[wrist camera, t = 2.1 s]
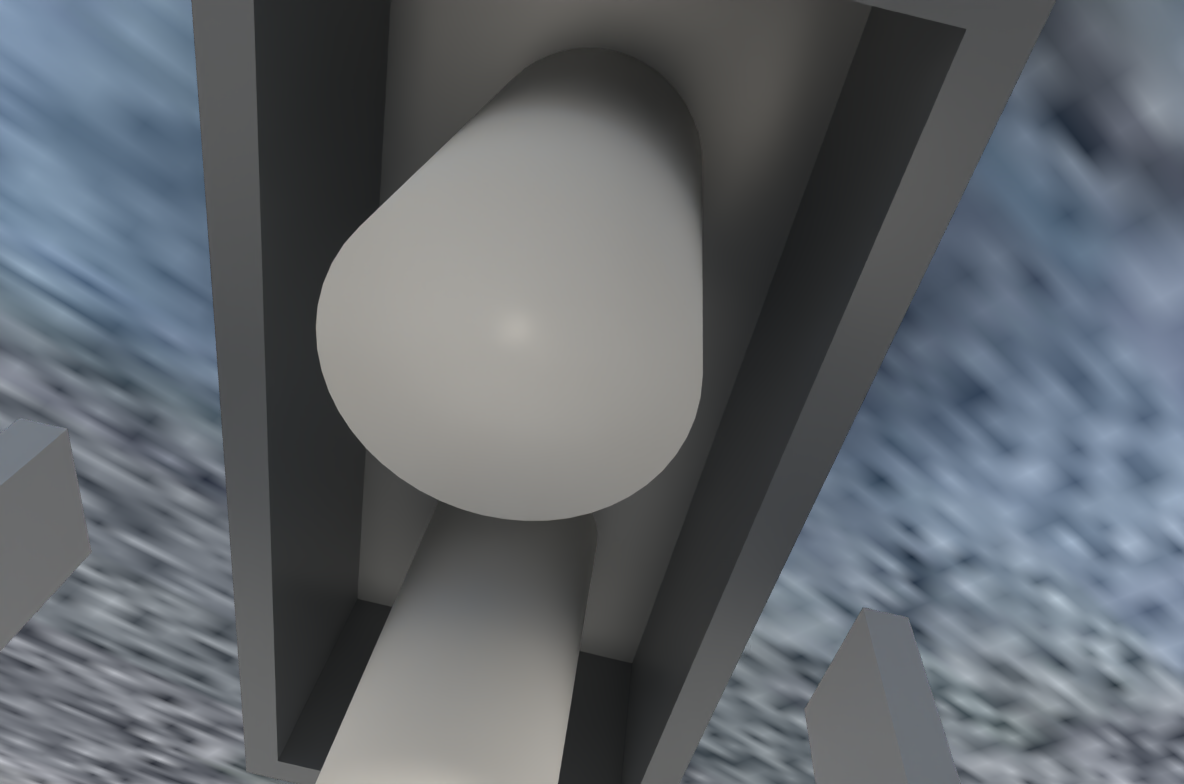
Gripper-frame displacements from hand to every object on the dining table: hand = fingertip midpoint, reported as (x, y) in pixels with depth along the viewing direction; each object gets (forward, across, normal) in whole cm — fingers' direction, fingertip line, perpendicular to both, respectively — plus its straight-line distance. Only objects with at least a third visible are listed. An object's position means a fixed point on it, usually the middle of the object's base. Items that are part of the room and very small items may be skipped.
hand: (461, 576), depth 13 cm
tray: (+7, 0, 0) cm, 7 cm away
